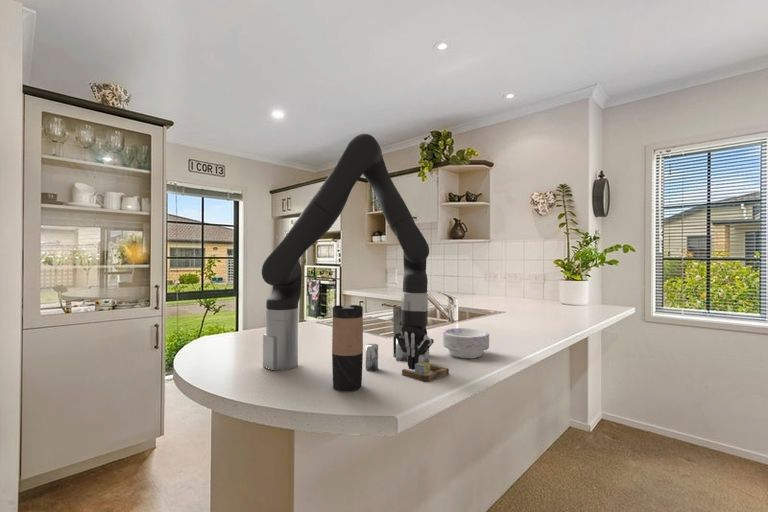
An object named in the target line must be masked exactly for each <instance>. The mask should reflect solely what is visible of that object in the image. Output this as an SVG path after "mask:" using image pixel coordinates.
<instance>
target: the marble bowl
mask: <svg viewBox="0 0 768 512" xmlns="http://www.w3.org/2000/svg"><path fill="white" fill-rule="evenodd" d="M442 345H443V347H444V348H446V349H448V351H449V354H450V355H451V356H452V357H455V358H459V357H460V358H459V359H467V358H471V359H477V357H478V358H480V357H481V356H482V355H483V353H484V351H487V350H489V348H490V333H488V332H487V331H485V330H482V329H476V328H468V327H467V328H466V327H460V328H459V327H457V328H456V327H455V328H447V329H444V330H443V332H442Z"/></svg>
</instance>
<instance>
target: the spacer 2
mask: <svg viewBox="0 0 768 512" xmlns="http://www.w3.org/2000/svg"><path fill="white" fill-rule="evenodd" d="M404 346H405V345H404ZM405 348H406V347H405ZM395 361H397V362H406V361H407V362H408V357H407V353H405V352H403V351H402V349H401V347H400V345H399V343H398V341H397V339H396V357H395Z"/></svg>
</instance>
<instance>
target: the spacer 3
mask: <svg viewBox="0 0 768 512" xmlns="http://www.w3.org/2000/svg"><path fill="white" fill-rule="evenodd" d="M422 344H423V343H422ZM419 362H425V363H430V348H429V349H428V350H427V352H426V353H425V354H424V355H420V356H419V361H418V363H419Z"/></svg>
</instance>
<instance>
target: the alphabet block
mask: <svg viewBox="0 0 768 512" xmlns="http://www.w3.org/2000/svg"><path fill="white" fill-rule="evenodd" d="M414 372H417V373H421V374H427V373H430V372H431V371H430V362H429V363H425V362H419V363H417V364H415V370H414Z"/></svg>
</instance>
